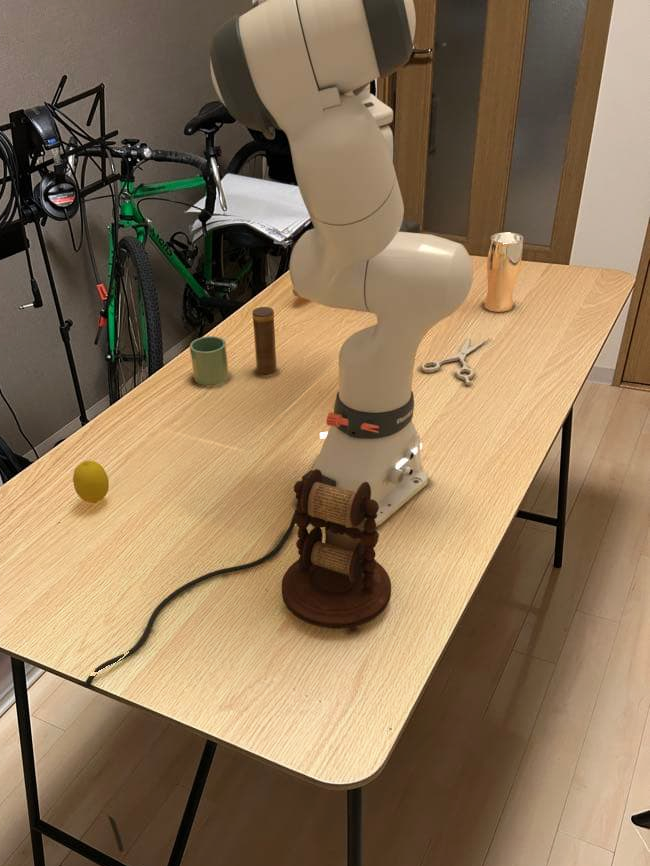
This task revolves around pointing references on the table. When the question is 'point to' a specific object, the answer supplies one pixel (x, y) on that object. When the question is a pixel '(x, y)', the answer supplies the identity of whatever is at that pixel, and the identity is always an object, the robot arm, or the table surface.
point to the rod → (264, 340)
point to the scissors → (458, 356)
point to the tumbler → (209, 360)
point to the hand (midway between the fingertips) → (342, 196)
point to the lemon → (90, 481)
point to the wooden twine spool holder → (335, 557)
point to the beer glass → (502, 270)
